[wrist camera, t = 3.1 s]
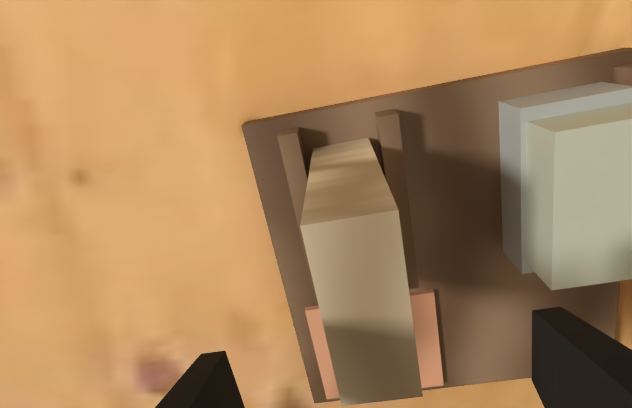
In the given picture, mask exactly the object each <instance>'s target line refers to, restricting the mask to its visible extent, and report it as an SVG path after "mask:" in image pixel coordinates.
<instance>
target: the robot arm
mask: <svg viewBox="0 0 632 408" xmlns="http://www.w3.org/2000/svg"><path fill="white" fill-rule="evenodd" d="M532 381H533V384H534V386H535V388H536V390H537V392H538V394H539V397H540V399H541V401H542V403H543V405H544V407H545V408H632V350H631V349H629V348H628V347H626V346H624V345H623V344H621V343H619V342H618V341H616V340H615V339H613V338H611V337H610V336H608V335H606V334H605V333H603V332H602V331H600V330H598V329H597V328H595V327H593V326H592V325H590V324H589V323H587V322H585V321H584V320H582V319H581V318H579V317H577V316H576V315H574V314H572V313H571V312H569V311H567V310H566V309H564V308H562V307H553V308H545V309H538V310H532ZM155 408H245V407H244V404H243V401H242V398H241V395H240V392H239V390H238V387H237V384H236V381H235V378H234V375H233V372H232V369H231V366H230V364H229V361H228V358H227V355H226V352H225V351H220V352H212V353H205V354H201V355H200V356H199V357H198V358H197V359H196V360H195V362H194V363H193V364H192V365H191V366H190V367H189V368H188V370H187V371H186V372H185V373H184V374H183V376H182V377H181V378H180V379H179V380H178V381H177V383H176V384H175V385H174V386H173V387H172V389H171V390H170V391H169V392H168V393H167V394H166V396H165V397H164V398H163V399H162V400H161V401H160V403H159V404H158V405H157V406H156V407H155Z"/></svg>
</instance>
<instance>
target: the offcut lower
mask: <svg viewBox="0 0 632 408" xmlns="http://www.w3.org/2000/svg"><path fill="white" fill-rule="evenodd" d="M629 102H632V86H629V85H621V84H614V83H606V82H599V83H594V84H588V85H583V86H578V87H573V88H567V89H562V90H557V91H551V92H546V93H541V94H535V95H530V96H525V97H519V98H514V99H509V100H503V101H499V135H500V169H501V203H502V237H503V252H504V253H505V255H506V256H507V257H508V258H509V259H510V260H511V262H512V263H513V264H514V265H515V266H516V268H517V269H518V270H519V271H520V272H521V274H526V273H533V272H534V271H533V269H532V268H531V267H530V266H529V265H528V264H527V201H526V121H531V120H536V119H542V118H547V117H553V116H558V115H564V114H569V113H575V112H580V111H586V110H591V109H596V108H602V107H607V106H613V105H618V104H624V103H629Z"/></svg>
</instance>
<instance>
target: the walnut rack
mask: <svg viewBox="0 0 632 408" xmlns="http://www.w3.org/2000/svg"><path fill="white" fill-rule="evenodd" d="M599 82H606V83H614V84H621V85H629V86H632V48H621V49H616V50H611V51H606V52H601V53H596V54H591V55H586V56H580V57H575V58H570V59H565V60H560V61H555V62H550V63H545V64H539V65H534V66H529V67H524V68H519V69H514V70H509V71H504V72H498V73H493V74H488V75H483V76H478V77H473V78H468V79H463V80H458V81H452V82H447V83H442V84H437V85H432V86H427V87H422V88H417V89H411V90H406V91H401V92H396V93H391V94H386V95H381V96H376V97H370V98H365V99H360V100H355V101H350V102H345V103H340V104H335V105H329V106H324V107H319V108H314V109H309V110H304V111H299V112H294V113H288V114H283V115H278V116H273V117H268V118H263V119H258V120H253V121H248V122H245V123H244V124H243V125H242V130H243V133H244V137H245V141H246V145H247V149H248V152H249V156H250V160H251V164H252V168H253V171H254V175H255V179H256V183H257V187H258V190H259V194H260V198H261V202H262V206H263V209H264V213H265V217H266V221H267V225H268V228H269V232H270V236H271V240H272V244H273V247H274V251H275V255H276V259H277V263H278V266H279V270H280V274H281V278H282V282H283V285H284V289H285V293H286V297H287V301H288V304H289V308H290V312H291V316H292V319H293V323H294V327H295V331H296V335H297V338H298V342H299V346H300V350H301V354H302V357H303V361H304V365H305V369H306V373H307V376H308V380H309V384H310V388H311V392H312V395H313V399H314V403H321V402H330V401H338V400H340V396H339V392H338V388H337V383H336V379H335V375H334V370H333V366H332V362H331V357H330V353H329V349H328V344H327V340H326V336H325V331H324V327H323V323H322V318H321V314H320V310H319V305H318V301H317V297H316V292H315V288H314V284H313V279H312V275H311V271H310V266H309V262H308V258H307V253H306V249H305V245H304V240H303V236H302V232H301V227H300V224H301V218H302V212H303V206H304V200H305V194H306V188H307V182H308V176H309V170H310V163H311V157H312V151H313V148H316V147H321V146H327V145H332V144H338V143H343V142H348V141H354V140H359V139H365V138H369V140H370V143H371V145H372V148H373V150H374V152H375V155H376V157H377V160H378V162H379V164H380V167H381V169H382V172H383V174H384V176H385V179H386V181H387V184H388V186H389V188H390V191H391V193H392V196H393V198H394V200H395V203H396V205H397V208H398V211H399V218H400V226H401V234H402V241H403V249H404V256H405V264H406V272H407V279H408V287H409V295H410V302H411V310H412V318H413V325H414V333H415V341H416V348H417V356H418V364H419V371H420V379H421V386H422V390H430V389H439V388H447V387H455V386H464V385H472V384H481V383H489V382H497V381H506V380H514V379H522V378H531V377H532V310H538V309H545V308H553V307H562V308H564V309H566V310H567V311H569V312H571V313H572V314H574V315H576V316H577V317H579V318H581V319H582V320H584V321H585V322H587V323H589V324H590V325H592V326H593V327H595V328H597V329H598V330H600V331H602V332H603V333H605V334H606V335H608V336H610V337H611V338H613V339H615V331H616V321H617V310H618V299H619V289H620V281H616V282H609V283H601V284H594V285H587V286H580V287H573V288H566V289H559V290H551V289H550V288H549V287H548V286H547V285H546V284H545V283H544V282H543V281H542V279H541V278H540V277H539V276H538V275H537V274H536V273H535V272H533V273H526V274H521V272H520V271H519V270H518V269H517V268H516V266H515V265H514V264H513V263H512V262H511V260H510V259H509V258H508V257H507V256H506V255H505V253H504V252H503V237H502V203H501V169H500V135H499V101H503V100H509V99H514V98H519V97H525V96H530V95H535V94H541V93H546V92H551V91H557V90H562V89H567V88H573V87H578V86H583V85H588V84H594V83H599Z"/></svg>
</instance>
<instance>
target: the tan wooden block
mask: <svg viewBox="0 0 632 408" xmlns="http://www.w3.org/2000/svg"><path fill="white" fill-rule="evenodd" d="M300 227H301V232H302V236H303V240H304V245H305V249H306V253H307V258H308V262H309V266H310V271H311V275H312V279H313V284H314V288H315V292H316V297H317V301H318V305H319V310H320V314H321V318H322V323H323V327H324V331H325V336H326V340H327V344H328V349H329V353H330V357H331V362H332V366H333V370H334V375H335V379H336V383H337V388H338V392H339V396H340V401H341V405H342V406H346V405H354V404H363V403H371V402H380V401H388V400H397V399H405V398H413V397H422V396H423V394H422V386H421V379H420V371H419V364H418V356H417V348H416V341H415V333H414V325H413V318H412V310H411V302H410V295H409V287H408V279H407V272H406V264H405V256H404V249H403V241H402V234H401V226H400V218H399V211H398V208H397V205H396V203H395V200H394V198H393V196H392V193H391V191H390V188H389V186H388V184H387V181H386V179H385V176H384V174H383V172H382V169H381V167H380V164H379V162H378V160H377V157H376V155H375V152H374V150H373V148H372V145H371V143H370V140H369V138H365V139H359V140H354V141H348V142H343V143H338V144H332V145H327V146H321V147H316V148H313V151H312V157H311V163H310V170H309V176H308V182H307V188H306V194H305V200H304V206H303V212H302V218H301V224H300Z"/></svg>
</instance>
